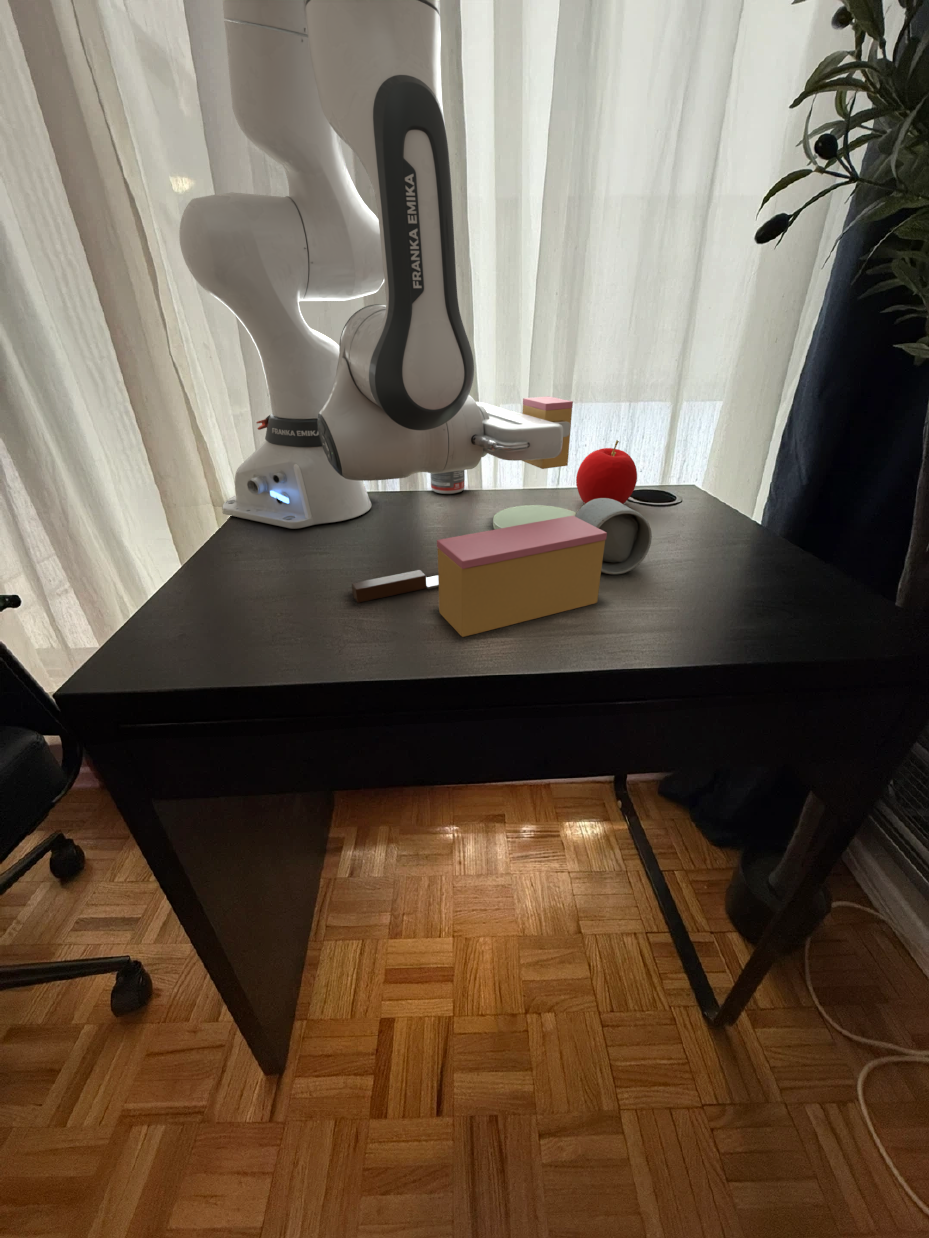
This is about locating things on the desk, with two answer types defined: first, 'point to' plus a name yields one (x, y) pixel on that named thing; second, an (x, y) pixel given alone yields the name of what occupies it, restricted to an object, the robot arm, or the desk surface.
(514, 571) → the loaf cake
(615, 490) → the fruit
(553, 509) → the plate
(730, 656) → the desk surface
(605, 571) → the ceramic mug
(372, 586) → the brown stick with tip
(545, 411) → the cake slice
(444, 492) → the pill bottle
